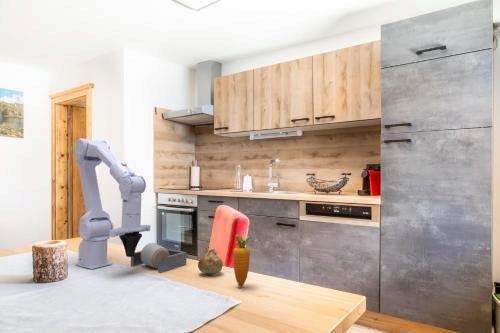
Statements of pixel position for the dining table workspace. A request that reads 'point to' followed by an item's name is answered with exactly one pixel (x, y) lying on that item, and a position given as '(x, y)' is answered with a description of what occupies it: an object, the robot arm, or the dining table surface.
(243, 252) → the carrot
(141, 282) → the dining table surface
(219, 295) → the dining table surface
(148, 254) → the ceramic mug
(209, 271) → the onion
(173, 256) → the grey u-shaped piece
